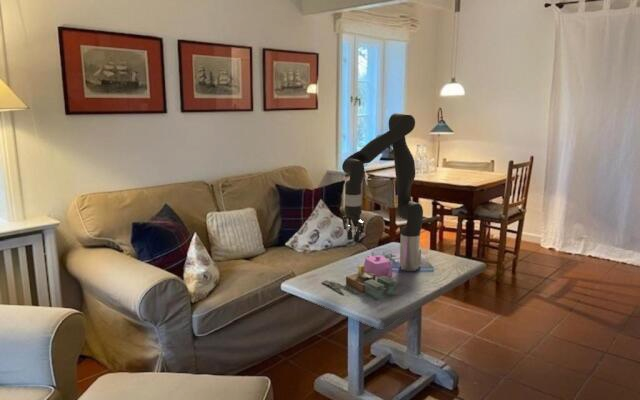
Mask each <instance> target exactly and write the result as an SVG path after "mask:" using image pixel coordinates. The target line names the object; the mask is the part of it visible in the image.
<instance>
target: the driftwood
mask: <svg viewBox="0 0 640 400" xmlns="http://www.w3.org/2000/svg"><path fill="white" fill-rule="evenodd" d="M321 284H324V285H327V286H329V288H333V289H334V290H335V291H336V292H338V293H340V294H341V296H345V293H343V292H344V291H342V290H343V289H344V290H346V291H348V293H349V294H350V295H354V296H356V295H357V294H358V292H355V291H353V290H351V289H350V288H348V286H344V285H342V284H341V283H339V282H335V281H334V282H333V281H329V280H323V281H322V282H321ZM346 297H348V298H349V295H346Z"/></svg>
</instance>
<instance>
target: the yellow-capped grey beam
mask: <svg viewBox="0 0 640 400" xmlns="http://www.w3.org/2000/svg"><path fill="white" fill-rule="evenodd" d="M357 268H358V269H357V273H358V276H359V277H360V276H362V275H364V276H366V277H367V280H371V279H372V280H374V277H373V276H371V275H369V274H367V273H365V266H364V265H363V264H359V265H357Z"/></svg>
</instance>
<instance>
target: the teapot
mask: <svg viewBox="0 0 640 400" xmlns="http://www.w3.org/2000/svg"><path fill="white" fill-rule="evenodd" d="M363 264H364V266H365V271H366V272H368V273H372V274H375V276H376V277H381V276H386V277H388V278H390V279H392V277H393V267H392V261H391V260H390V259H388V258H387V257H384V256H383V255H381V254H380V255H379V254H378V255H371V254H370V255H367V257H365V258H364V263H363Z"/></svg>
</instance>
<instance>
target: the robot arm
mask: <svg viewBox="0 0 640 400" xmlns="http://www.w3.org/2000/svg"><path fill="white" fill-rule="evenodd" d="M415 127H416V119H415V118H414V116H413V115H412V114H409V113H403V112H402V113H400V112H395V113H393V114H392V115H390V117H389V119H388V130H387V131H386V132H385V133H382V134H381V135H378V136H377V137H375V138H373V139H371V140H370V141H369V142H368V143H367V144H365V145H364V146H363V147H362V148H361V149H360V150H359V151H357V152H355V153H353V154H351V155H349V156H348V157H347V158H346V159H344V161H343V162H342V165H341V166H342V167H341V169H342V171H343V173H345V174H347V175H349V180H346V182H345V183H344V193H345V194H344V216H341V219H342V224H343V229H344V230H345V231H346V232H347V233H346V234H347V235H346V237H347V241H351V240H353V242H354V243H359V241H360V234H363V232H364V227H365V224H366V223H365V221H362V220H361V215H362V206H363V205H362V204H363V203H362V201H363V200H362V183H363V179H364V174H365V165H364V164H369V163H371V162H372V161H374V160H375V159H376V158H377V157H378V156H379V155H380V154H382V153H383V152H384V151H385V150H387V149H388V148H389V147H390V146H392V151H393V161H394V172H395V179H396V180H395V181H396V188H397V189H396V190H397V191H396V193H397V212H398V216H399V217H400V218H401V219H403V220H406V225H405V226H402V227H401V228H400V247H399V252H400V253H399V267H400V266H401V268H402V269H403V271H405V272H406V271H407V272H414V271H417V270H416V269H417V268H418V267H419V265H421V264H422V263H421V262H422V261H421V260H422V259H421V258H422V249H421V248H420V247H421V245H420V242H421V231H422V228H423V221H424V220H423V219H424V209H423V206H422V205H421V203H418V202H415V201H412V197H411V189H412V185H413V182H414V181H415V178H416V165H415V159H414V156H413V154H412V152H411V151H410V148H409V147H408V145H407V142H406V136H407V135H408V134H410V133H412V131H413V130H414V128H415ZM401 268H400V269H401ZM402 269H401V270H402Z"/></svg>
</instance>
